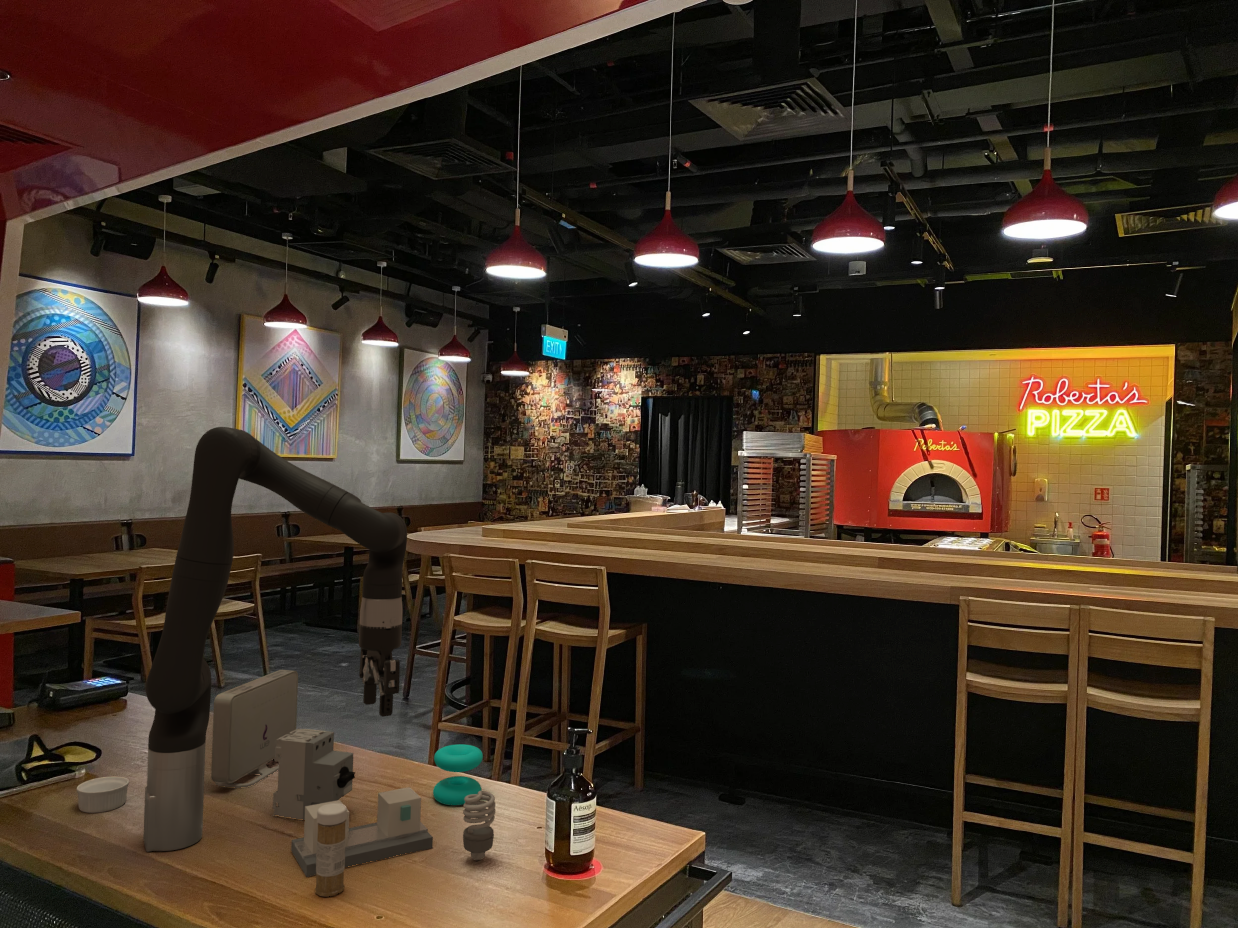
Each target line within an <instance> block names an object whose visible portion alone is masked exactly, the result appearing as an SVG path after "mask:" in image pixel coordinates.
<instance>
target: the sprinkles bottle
mask: <svg viewBox="0 0 1238 928" xmlns="http://www.w3.org/2000/svg"><path fill="white" fill-rule="evenodd" d="M347 810H348V808H347V806H346V805H345V804H339V803H331V804H326V805H323V806H321V807H320V808H319V809H318V811H317V822H318V837H317V852H316V875H315V888H314V892H315V894H316V895H317V896H320V897H329V896H330V897H334V896H337V895H339V894H341V892H343V891H344V889H345V884H344V880H345V879H344V878H345V877H344V876H345V875H344V874H345V873H344V872H345V869H346V868H345V822H346V818H347ZM338 893H339V894H338ZM330 897H329V898H330Z"/></svg>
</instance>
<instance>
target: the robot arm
mask: <svg viewBox="0 0 1238 928" xmlns="http://www.w3.org/2000/svg"><path fill="white" fill-rule="evenodd" d="M195 447H196V448H195V450H194V455H193V456H194V457H193V465H192V468H193V469H192V476H191V487H190V494H189V500H188V501H189V502H188V507H187V510H186V515H185V518H184V523H183V527H182V531H181V536H180V540H179V544H178V548H177V552H176V555H175V561H174V565H173V569H172V574H171V579H170V580H171V581H170V586H169V592H168V595H167V596H168V597H167V602H166V607H165V608H166V610H165V616H164V620H163V621H164V622H163V628H162V633H161V635H160V636H161V637H160V640H159V643H158V646H157V649H156V652H155V655H154V658H153V661H152V665H151V667H150V670H149V673H148V674H147V678H146V682H145V694H146V697H147V701H148V703H149V704H150V706H151V707H152V708H153V709H154V717H153V722H152V725H151V727H150V729H149V734H148V742H147V743H148V744H147V745H148V746H147V747H148V748H147V767H146V768H147V769H146V770H147V772H146V786H145V788H144V808H143V810H144V812H143V837H142V838H143V839H142V840H143V843H144V848H145V852H146V853H149V852H152V851H154V852H155V851H156V852H169V851H174V850H175V851H177V850H180V849H185V848H187V847H190V846H192V845H194V844H195V845H196V843H198V842H200V840H201V839H202V838H203V827H204V799H205V797H204V795H205V793H204V792H205V773H206V772H205V767H206V766H205V765H206V744H207V743H206V740H207V729H208V727H209V724H210V723H209V722H210V716H211V715H210V714H211V713H210V712H211V697H212V673H211V672H212V671H211V669H210V666H209V663H208V662H207V661H206V660H205V658H204V653H205V647H206V643H207V638H208V635H209V632H210V629H211V627H212V624H213V622H214V620H215V617H216V616H217V613H218V611H219V608H220V606H221V603H222V602H223V598H224V597H225V593H226V591H227V587H228V583H229V579H230V575H231V570H232V565H233V562H234V561H233V560H234V553H235V551H234V550H235V543H234V531H233V522H232V509H233V501H234V499H235V495H236V490H237V486H238V483H239V480H242V481H244V482H245V481H246V482H249V483H252V484H255V485H258V486H260V487H263V488H265V489H267V490H269V491H271V492H273V493H274V494H277V495H278V496H280V497H281V498H283V499H284V500H286V501H287V502H289V503H290V504H291V505H292V506H294V507H295V508H297V509H299V510H300V511H301V512H303V513H305V514H306V515H308V516H309V517H311V518H313V519H315V520H317V521H319V522H321V523H323V524H325V525H327V526H329V527H331V528H334V529H336V530H338V531H340V532H341V533H343V534H344V535H345V536H346V537H348V538H349V539H351V540H353V541H354V542H356V543H357V544H358V545H360V546H362V547H364V548H366V549H367V550H369V551H368V563H367V565H366V567H365V569H364V571H363V577H362V594H361V595H362V596H361V603H360V608H359V610H360V611H359V631H358V632H359V634H358V646H359V648H360V658H359V673H358V676H359V678H360V679H362V680H361V681H362V684H363V698H362V699H363V701H362V702H363V704H364V705H366V706H367V705H374V704H376V702H377V689H379V694H380V695H379V705H378V706H379V707H378V709H379V710H378V712H379V716H381V717H382V718H384V717H390V716H392V715H393V704H394V695H396V694H399V693H400V668H401V667H400V664H401V663H400V662H401V661H400V659H394V658H393V651H394V650H396V649H398V648H401V646H402V635H403V633H402V631H403V630H402V629H403V601H402V600H403V597H402V596H403V593H402V592H403V569H404V568H403V567H404V563H405V557H406V550H407V541H408V528H407V525H406V522H405V520H404V519H403V518H402V517H401V516H400V515H398V514H397V513H394V512H381V511H379V510H377V509H375V508H373V507H371V506H369V505H367V504H365V503H363V502H362V501H361V499H360V498H359V497H358V496H356V495H355V494H354V493H351V492H349V491H348V490H345V489H344V488H342V487H339V485H338V486H337V485H336V484H334V483H332V482H330V481H327V480H326V479H324V478H322V477H319V476H317V475H315V474H313V473H311V472H308V471H306V470H304V469H303V468H301V467H298V466H297V465H295V464H293V463H291V462H289V461H288V460H287V459H285V458H284V457H281V456H280V455H278V454H277V453H276V452H274V451H273V450H272V449H271V448H269V447H267V445H265V444H263V443H262V442H261V441H259V440H258V439H257V438H255V436H253V435H252V434H250V433H249V432H247V431H246V430H242V429H239V428H234V427H228V426H218V427H212V428H211V429H209V430H207V431H206V432H204V433H203V435H202V436H201V437H200V438H199V440H198V442H197V444H196V446H195ZM377 687H378V688H377Z"/></svg>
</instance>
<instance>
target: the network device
mask: <svg viewBox="0 0 1238 928" xmlns="http://www.w3.org/2000/svg"><path fill="white" fill-rule="evenodd" d="M298 687H299V673H298V672H297V670H290V669H289V670H288V669H278V670H276V671H274V672H271V673H268V674H266V675H264V676H261V677H258V678H257V679H253V680H251V681H249V682H246V683H243V684H241V685H238V686H236V687H233V688H231V689H228V690H226V691H223V692H221V693H218V694H217V695H216V696H215V698H214V701H213V713H212V714H213V715H212V716H213V718H212V742H211V744H212V745H211V746H212V748H211V749H212V750H211V771H210V774H211V776H210V779H211V781H212V782H214V783H215V784H216V785H218V786H217V787H219V786H225V787H224V788H226V787H235V788H234V789H236V788H240V789H242V788H241V787H248V786H251V785H254V784H255V783H257V782H259V781H260V780H262V779H264V778H265V777H267V776H268V775H270V774H272V775H274V774H275V773H274V772H276V771H277V770H278V768H279V764H278V765H276V766H275V767H271V768H270V767H268V765H267V764H268V763H270V762H271V761H275V747H277V741H276V739H278V738H280V737H282V736H284V735H286V734H288V735H289V733H290V732H292V731H294V730H296V729H297V722H298V721H297V719H298V717H297V716H298V715H297V714H298V693H299V692H298V691H299V690H298V689H299V688H298ZM280 756H281V754H278V757H280ZM273 759H274V760H273ZM277 772H278V771H277ZM277 772H276V773H277ZM273 773H274V774H273ZM251 774H260V775H261V776H260V775H258V777H256V778H255V779H252V780H251V781H249V782H246V783H241V782H240V783H237V782H236V781H238V780H239V779H241V778H243V777H245V776H247V775H251ZM267 778H268V777H267ZM264 780H265V779H264ZM262 781H263V780H262ZM260 782H261V781H260ZM260 782H259V783H260ZM215 784H214V785H215ZM257 784H258V783H257ZM216 785H215V786H216ZM255 785H256V784H255ZM255 785H254V786H255ZM251 787H252V786H251ZM248 788H249V787H248Z"/></svg>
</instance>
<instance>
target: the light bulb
mask: <svg viewBox="0 0 1238 928" xmlns="http://www.w3.org/2000/svg"><path fill="white" fill-rule="evenodd" d="M464 800H465V803H464V805H463V811H462V814H463V821H464V822H465V823H468V824H472V825H469V826H466V827H465V828H464V830H463V834H462V839H463V840H462V841H463V849H464V850H465V851H467V852H469V853H470V858H471V859H472V860H473V861H476V862H479V861H481V860H482V859H484V858H485V857H486V853H487V852H488V851H490V850H491V849H492V847H493V845H494V837H495V833H494V829H493V828H492V826H491V824H493V822H494V821H495V817H496V816H495V814H496V802H495V800H496V797H495V795H494V794H493V793H492V792H489V791H487V790H486V791H485V790H482V791H479V792H478V794H472V795H467V796H466V797H465V799H464Z"/></svg>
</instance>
